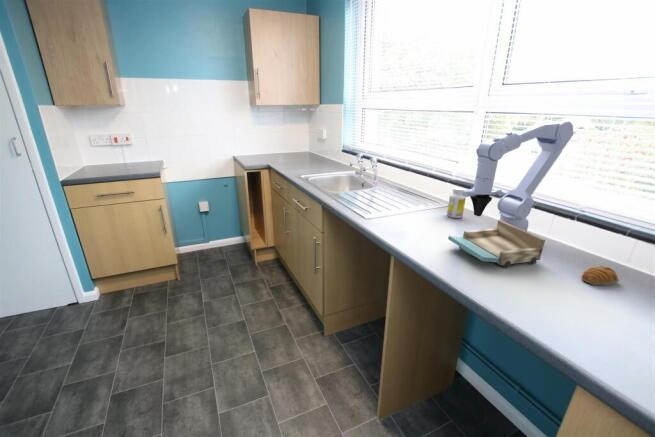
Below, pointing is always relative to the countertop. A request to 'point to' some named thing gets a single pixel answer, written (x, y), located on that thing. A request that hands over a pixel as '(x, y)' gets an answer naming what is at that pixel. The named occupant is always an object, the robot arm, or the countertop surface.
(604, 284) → the pastry
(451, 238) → the panel
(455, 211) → the supplement bottle
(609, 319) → the countertop surface
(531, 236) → the tray
